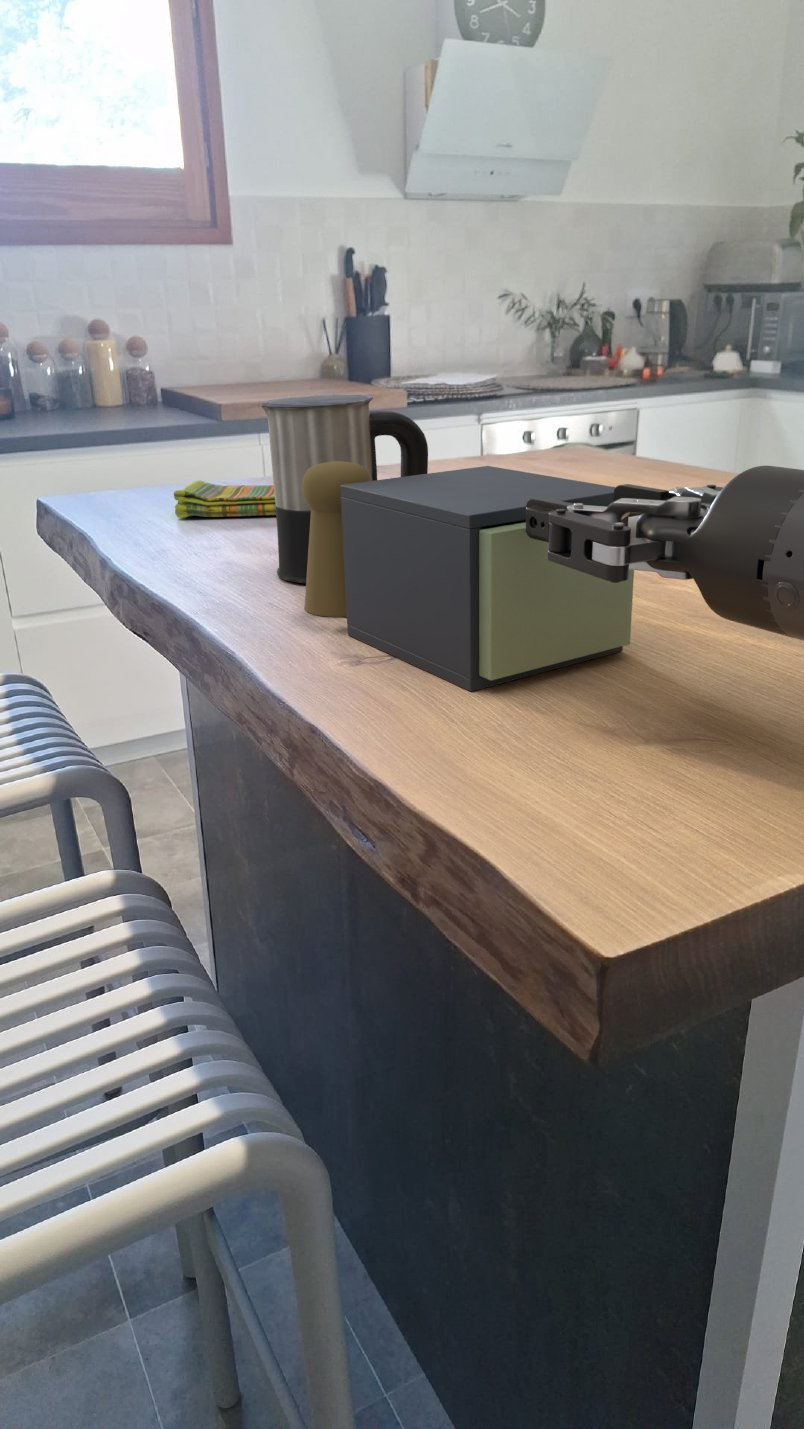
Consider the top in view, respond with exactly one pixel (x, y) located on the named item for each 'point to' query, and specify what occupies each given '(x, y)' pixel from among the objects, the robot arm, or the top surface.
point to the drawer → (543, 605)
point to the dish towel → (224, 500)
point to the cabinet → (436, 561)
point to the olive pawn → (327, 535)
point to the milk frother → (327, 457)
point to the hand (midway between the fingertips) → (575, 509)
